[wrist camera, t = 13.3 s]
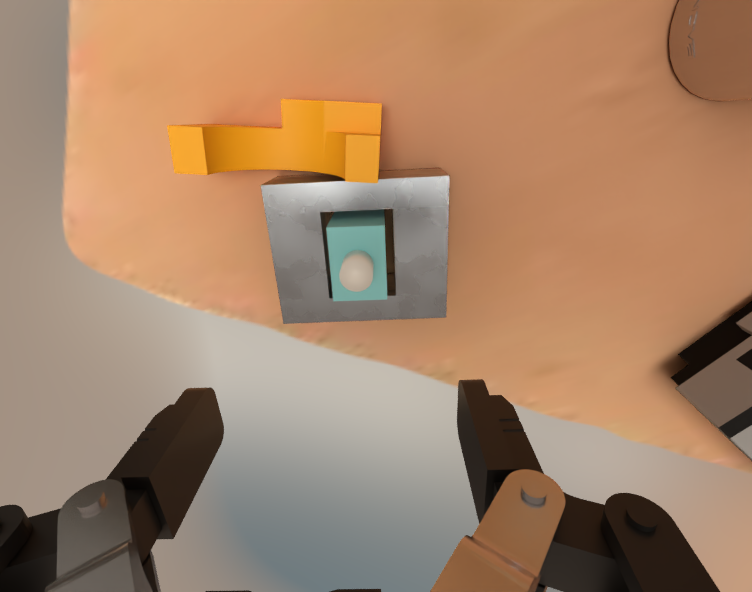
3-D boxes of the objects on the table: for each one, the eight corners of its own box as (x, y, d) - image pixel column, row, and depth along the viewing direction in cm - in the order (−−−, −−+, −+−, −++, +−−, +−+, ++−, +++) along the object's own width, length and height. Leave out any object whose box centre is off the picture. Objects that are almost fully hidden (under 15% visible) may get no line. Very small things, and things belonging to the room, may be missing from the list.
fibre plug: (384, 204, 30) (385, 234, 22) (386, 266, 32) (387, 312, 24) (337, 206, 30) (321, 236, 22) (342, 267, 32) (329, 314, 24)
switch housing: (439, 167, 29) (449, 175, 25) (438, 292, 33) (446, 317, 29) (277, 176, 29) (260, 185, 25) (295, 298, 33) (283, 323, 29)
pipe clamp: (381, 105, 27) (381, 101, 22) (378, 170, 29) (377, 183, 23) (209, 96, 27) (161, 90, 21) (216, 162, 29) (174, 173, 23)
